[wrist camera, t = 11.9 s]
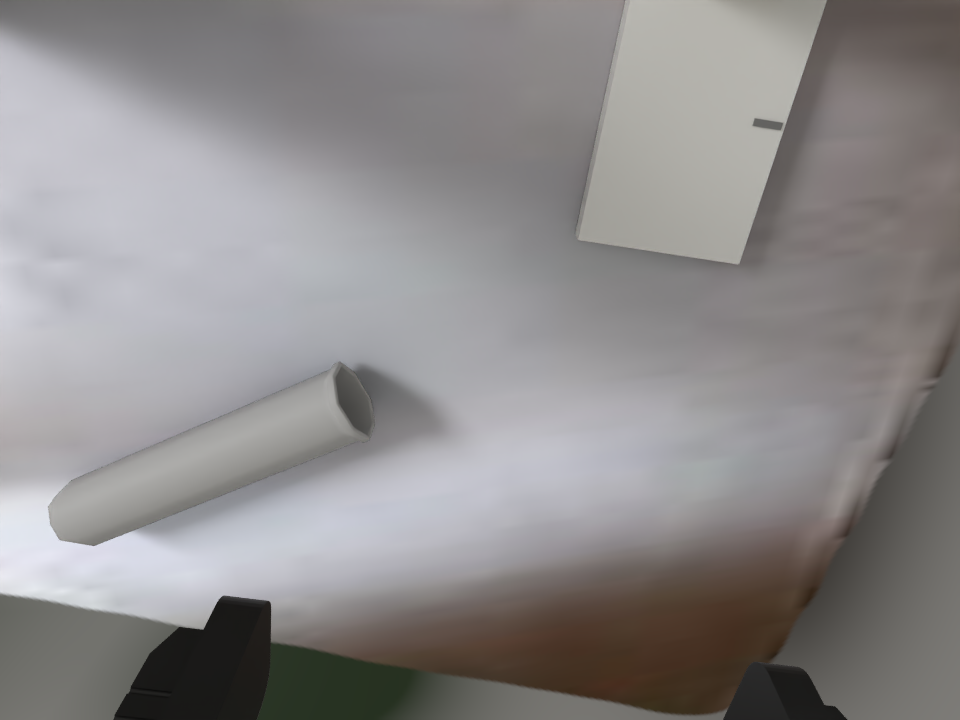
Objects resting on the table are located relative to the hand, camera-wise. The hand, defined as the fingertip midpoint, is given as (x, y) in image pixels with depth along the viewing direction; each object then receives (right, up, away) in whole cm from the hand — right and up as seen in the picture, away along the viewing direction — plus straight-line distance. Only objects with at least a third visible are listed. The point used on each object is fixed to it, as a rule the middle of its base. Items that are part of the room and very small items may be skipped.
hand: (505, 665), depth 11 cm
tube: (-20, -1, +37) cm, 42 cm away
